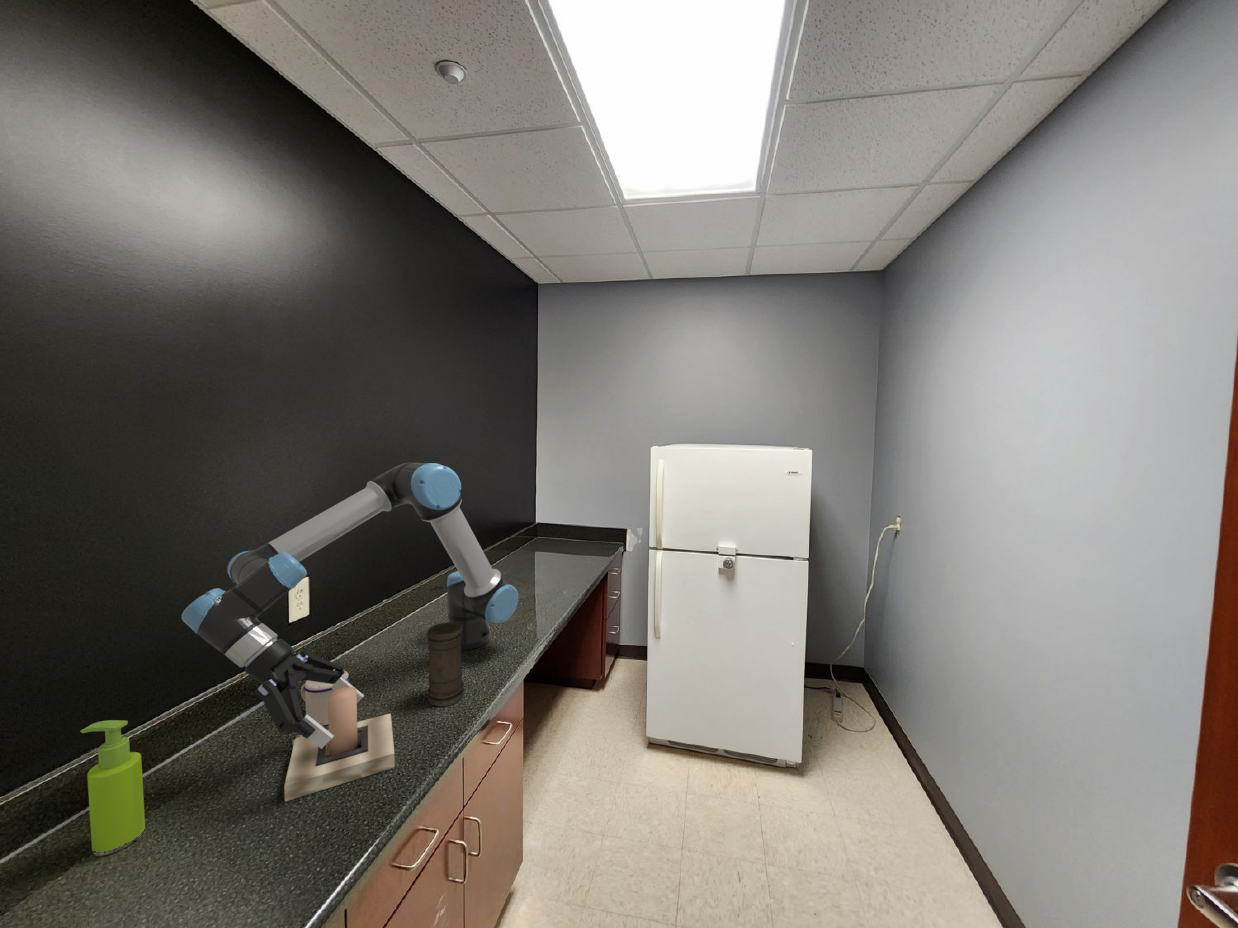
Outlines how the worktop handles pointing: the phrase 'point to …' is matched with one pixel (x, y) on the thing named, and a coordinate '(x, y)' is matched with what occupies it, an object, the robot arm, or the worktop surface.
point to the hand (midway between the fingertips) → (344, 720)
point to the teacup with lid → (318, 699)
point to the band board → (340, 759)
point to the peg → (342, 720)
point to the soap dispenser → (115, 790)
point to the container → (445, 664)
